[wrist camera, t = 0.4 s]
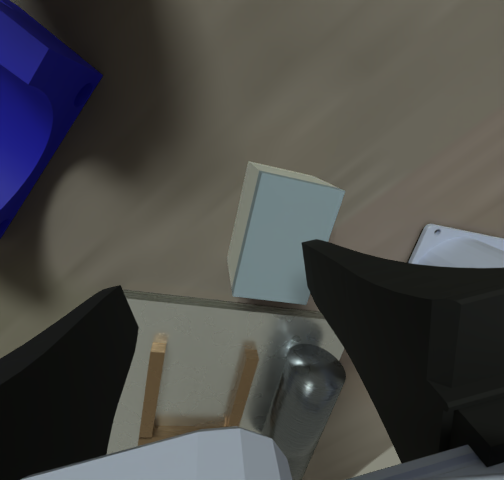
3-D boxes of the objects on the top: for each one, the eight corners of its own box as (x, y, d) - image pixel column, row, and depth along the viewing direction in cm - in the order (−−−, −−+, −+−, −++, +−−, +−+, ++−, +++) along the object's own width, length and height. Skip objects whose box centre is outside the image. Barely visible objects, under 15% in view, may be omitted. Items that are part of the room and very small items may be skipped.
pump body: (312, 175, 19) (345, 191, 15) (285, 266, 22) (306, 304, 17) (248, 161, 18) (262, 172, 14) (226, 258, 21) (232, 296, 16)
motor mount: (349, 315, 24) (386, 364, 19) (297, 443, 29) (315, 508, 24) (123, 290, 20) (97, 343, 15) (110, 443, 25) (87, 520, 21)
